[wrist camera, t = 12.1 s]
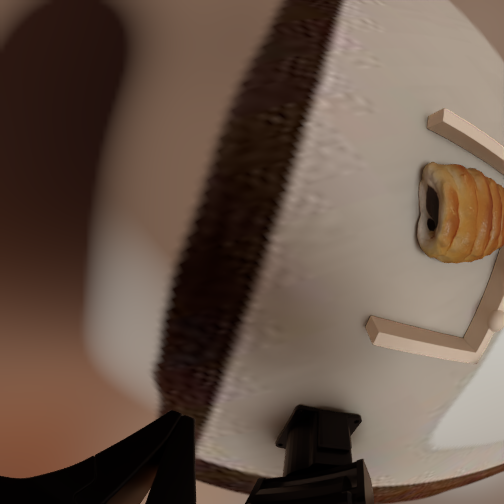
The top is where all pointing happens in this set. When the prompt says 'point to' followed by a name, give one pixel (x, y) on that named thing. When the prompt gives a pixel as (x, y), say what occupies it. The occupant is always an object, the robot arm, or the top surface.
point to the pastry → (459, 213)
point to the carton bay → (499, 286)
